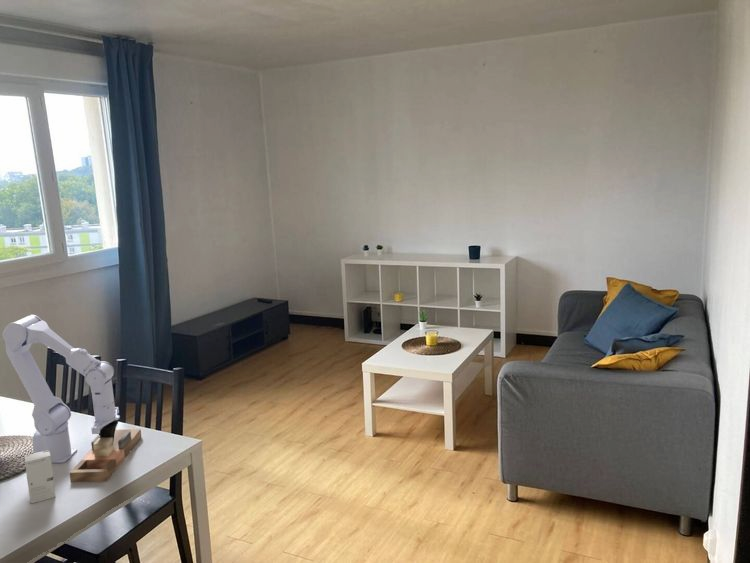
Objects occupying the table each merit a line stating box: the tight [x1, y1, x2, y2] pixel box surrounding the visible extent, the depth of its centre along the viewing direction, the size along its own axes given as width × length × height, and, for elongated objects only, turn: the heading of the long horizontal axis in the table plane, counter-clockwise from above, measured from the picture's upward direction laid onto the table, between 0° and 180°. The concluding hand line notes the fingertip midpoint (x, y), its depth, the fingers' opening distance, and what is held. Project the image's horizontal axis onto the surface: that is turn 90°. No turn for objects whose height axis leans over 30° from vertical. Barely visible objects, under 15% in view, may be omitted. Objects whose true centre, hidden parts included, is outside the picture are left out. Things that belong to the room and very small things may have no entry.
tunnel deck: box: [69, 428, 142, 483], centre depth 179 cm, size 10×26×6 cm, turn 1°
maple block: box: [93, 437, 114, 457], centre depth 176 cm, size 4×4×4 cm
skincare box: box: [23, 450, 56, 504], centre depth 159 cm, size 6×4×12 cm
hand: (108, 445), depth 180 cm, fingers closed
